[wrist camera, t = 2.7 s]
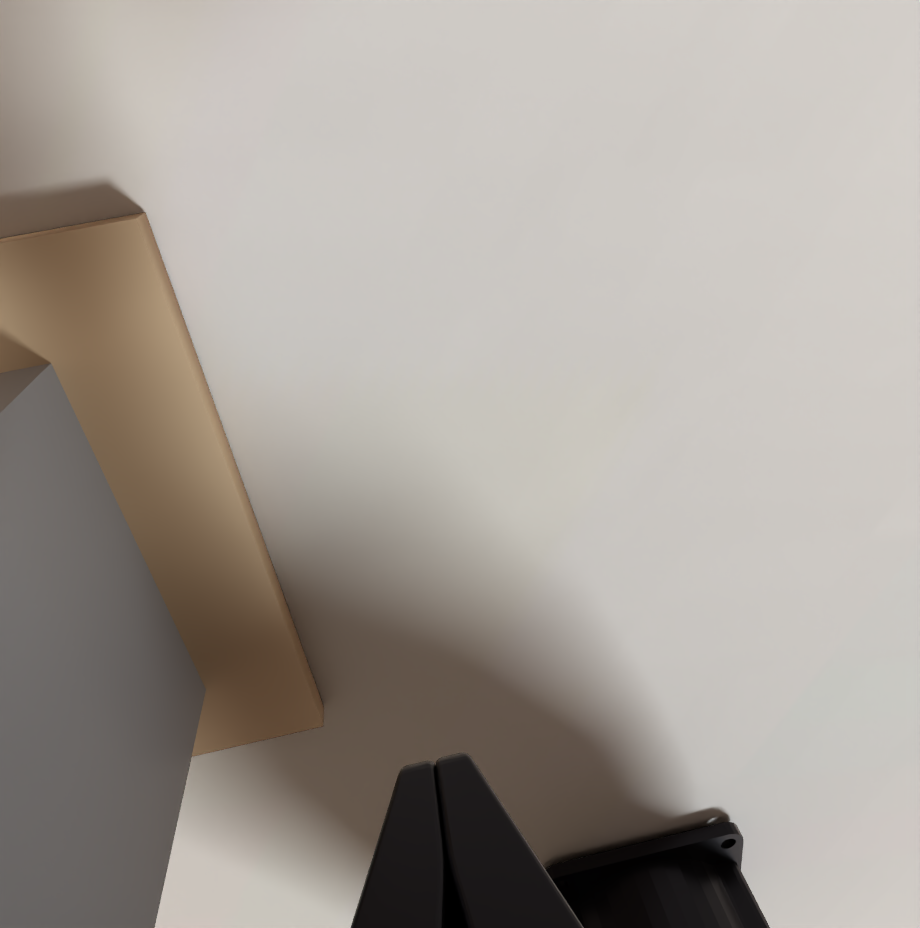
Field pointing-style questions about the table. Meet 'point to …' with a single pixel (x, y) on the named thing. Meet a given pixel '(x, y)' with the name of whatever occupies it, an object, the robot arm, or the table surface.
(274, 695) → the cork mat
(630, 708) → the table surface
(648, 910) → the robot arm
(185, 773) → the slate tile
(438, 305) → the table surface
